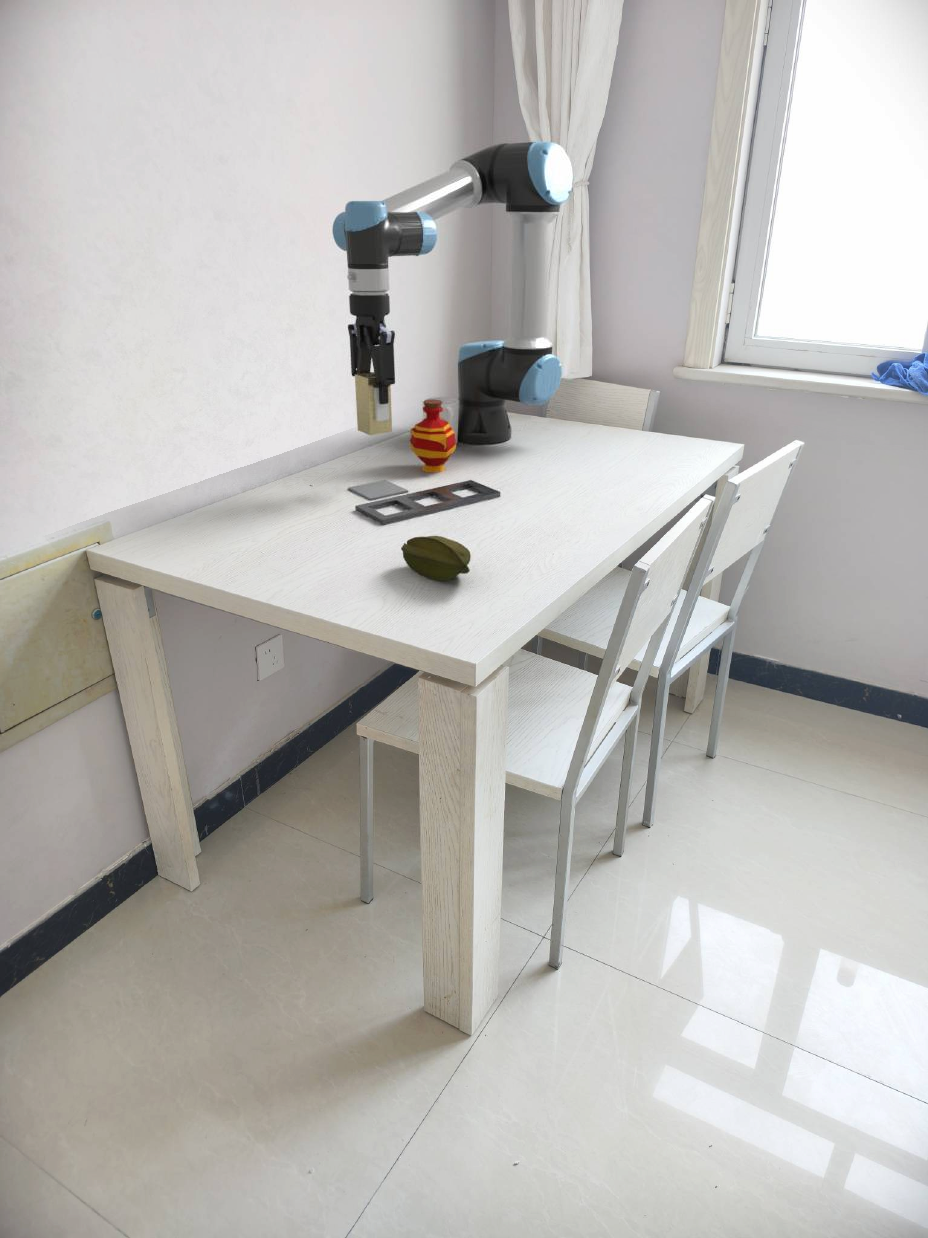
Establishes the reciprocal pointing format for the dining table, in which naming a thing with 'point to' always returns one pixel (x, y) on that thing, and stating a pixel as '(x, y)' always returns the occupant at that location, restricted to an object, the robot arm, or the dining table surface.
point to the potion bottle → (433, 438)
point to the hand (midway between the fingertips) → (374, 416)
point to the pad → (378, 489)
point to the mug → (448, 412)
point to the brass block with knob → (369, 406)
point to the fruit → (436, 557)
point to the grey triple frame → (419, 509)
